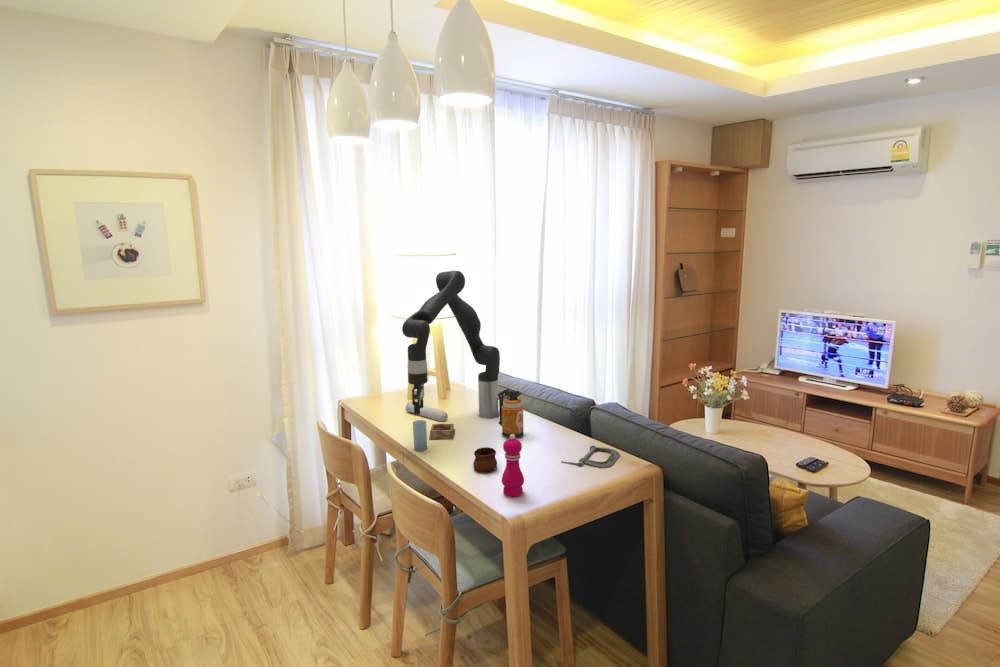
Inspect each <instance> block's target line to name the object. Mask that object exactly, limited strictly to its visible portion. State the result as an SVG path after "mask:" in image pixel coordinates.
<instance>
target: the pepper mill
mask: <svg viewBox="0 0 1000 667" xmlns="http://www.w3.org/2000/svg"><path fill="white" fill-rule="evenodd" d="M502 449H503V451H504V452H505V453H504V459H506V463H505V464H506V465H505V468H504V470H503V472H502V475H503V476H501V484H502V485H503V492H502V493H503V495H504V496H506V497H507V498H508V497H509V498H517V497H520V496H522V495H523V493H524V491H523V489H524V488H523V485H524V484H525V478H524V477H525V476H524V475H523V471H522V470H521V467H520V458H521V451H522V450H523V446H522V442H521V441H520V440H519V439H518V438H515V435H514V434H511V435H510V438H507V439H505V441H504V442H503V444H502Z"/></svg>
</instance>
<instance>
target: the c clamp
mask: <svg viewBox="0 0 1000 667" xmlns="http://www.w3.org/2000/svg"><path fill="white" fill-rule="evenodd" d="M596 452H599V453H600V452H601V453H606V454H609V456H608V457H607V459H606V460H605V461H596V460H593V459H588V458H589V457H591V455H592V454H593V453H596ZM620 456H621V454H620V452H619V451H617V450H616V449H612V448H607V447H598V446H595V445H590V447H589V451H588V452H587V453H586V454H585V455H584V456H583V457H581V458H580V459H579V460H578V462H570V461H563V460H562V461H561V464H568V465H576V466H578V467H582V466H585V465H587V466H589V467H594V468H598V469H608V468H611V467H613V466H614V464H615V463H616V462H617V460H618V459H619V458H620Z"/></svg>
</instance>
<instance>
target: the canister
mask: <svg viewBox="0 0 1000 667" xmlns="http://www.w3.org/2000/svg"><path fill="white" fill-rule="evenodd" d="M521 395H522V392H520V390H513V389H509V388H506V389H504V390H503V391H501V392H498V410H499V421H498V424H499V425H500V427H501V435H502V436H503V437H504V438H507V439H509V438H510V435H511V434H514V435H515V438H516V439H518V438H521V437H523V436H524V406H523V401H522V398H520V396H521Z"/></svg>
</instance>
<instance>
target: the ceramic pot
mask: <svg viewBox="0 0 1000 667" xmlns="http://www.w3.org/2000/svg"><path fill="white" fill-rule="evenodd" d="M473 454H474V457H475V458H474V459H473V463H472V464H473V468H474V471H475V472H477V473H480V474H487V473H493V472H494V471H495V470H496V468H497V467H498V461H497V458H496V454H497V450H495V448H492V447H486V446H485V447H480V448H479V447H478V448H477V449H476V450H474V452H473Z"/></svg>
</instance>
